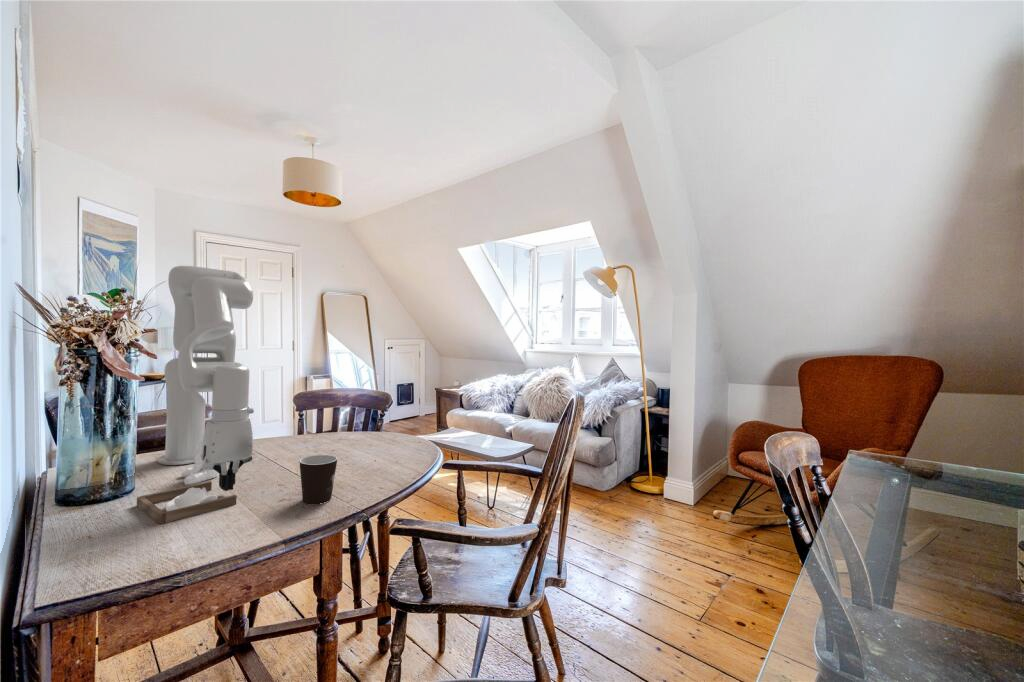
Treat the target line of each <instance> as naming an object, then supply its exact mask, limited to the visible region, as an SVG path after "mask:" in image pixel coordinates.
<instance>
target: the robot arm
mask: <svg viewBox="0 0 1024 682" xmlns="http://www.w3.org/2000/svg"><path fill="white" fill-rule="evenodd" d="M167 281H168V283H167V284H168V289H169V292H170V295H171V298H172V300H173V304H174V316H173V317H174V319H173V334H172V335H173V336H172V341H173V342H172V343H173V347H174V349H175V350H176V351H177V352H178V354H177V357H176V358H173V359H170V360H169V361H168V362H167V363H166V364H165V365H164V371H163V372H164V380H165V387H166V421H165V422H166V423H165V425H166V426H165V445H164V446H165V448H164V449H165V450H164V451H165V452H164V454H162V455H161V456H159V457H158V459H157V462H158V463H159V464H161V465H165V466H177V465H179V466H180V465H188V464H189V465H190V464H195V458H196V456H197V453H198V450H197V449H196V448H197V446H198V444H199V443H198V442H199V441H201V440H202V438H203V443H202V450H201V459H202V460H203V464H202V468H203V469H204V470H215V471H217V472H218V473H219V474H218V475H219V477H218V486H219V488H220V489H221V490H223V492H224V491H225V492H228V491H232V490H234V485H236V473H238V472H239V470H240V468H241V467H242V466H243V465H244V464H247V463H249V462H251V461H253V457H252V456H253V452H254V436H253V435H254V434H253V426H252V422H251V419H250V418H249V416H250V414H254V412H255V410H254V408H253V407H251V408H250V407H249V393H250V392H249V391H250V369H249V367H247V366H246V365H244V364H242V363H240V362H238V361H237V362H236V361H235V359H236V358H235V357H236V348H237V347H236V346H237V336H236V332H235V329H234V327H235V326H234V325H235V324H234V319H233V318H234V317H233V312H232V309H238V310H247V309H249V308H250V307H251V306H252V304H253V301H254V291H253V288H252V286H251V284H250V283H249V280H247V279H246V278H245V277H243V276H242V275H241V274H240V273H238V272H236V271H232V270H231V271H230V270H225V269H218V268H216V269H215V268H209V267H203V266H202V267H201V266H193V265H177V266H173V267H172V268H171V269H170V271H169V273H168V280H167ZM194 354H215V355H216V356H211V357H210V356H206V357H205V356H204V357H203V356H194ZM208 392H209V393H212V394H211V395H212V396H211V397H212V399H211V419H210V420H209V421H207V422H206V408H207V407H206V405H207V403H206V401H205V398H204V397H203V395H201V394H200V393H208ZM227 463H228V465H227ZM227 466H228V467H227Z"/></svg>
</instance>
